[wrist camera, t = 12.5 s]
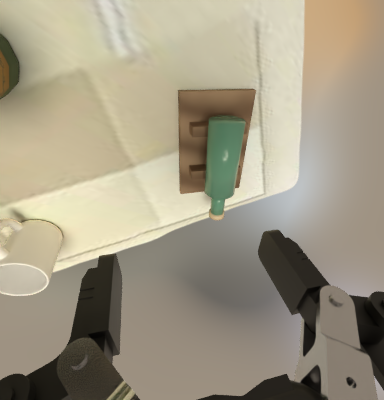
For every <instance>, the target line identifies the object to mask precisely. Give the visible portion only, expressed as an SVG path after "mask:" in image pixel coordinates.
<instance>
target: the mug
mask: <svg viewBox="0 0 384 400" xmlns="http://www.w3.org/2000/svg"><path fill="white" fill-rule="evenodd" d="M5 226H8V227H10V228H12V229H13V231H12V232H11V234H10V235H9V237H8V239H7V240H6V242H5V244H4V245H3V246H2V244H1V243H0V293H3V294H6V295H13V296H26V295H32V294H35V293H38V292H40V291H42V290H43V289H45V288H46V287H47V285H48V283H49V280H50V277H51V274H52V271H53V268H54V265H55V262H56V259H57V256H58V253H59V250H60V248H61V244H62V240H63V236H62V233H61V231H60V230H59V228H57V227H56V226H55V225H53V224H52V223H49V222H47V221H43V220H28V221H24V222H22V223H20V222H18V221H16V220H14V219H9V218H5V219H1V220H0V231H1V230H2V228H3V227H5Z"/></svg>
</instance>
